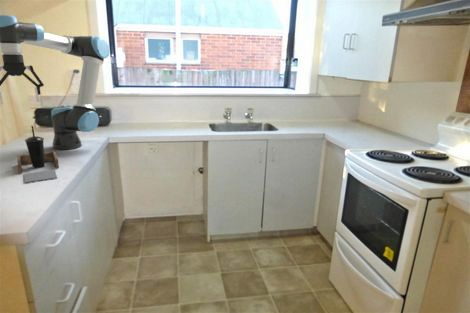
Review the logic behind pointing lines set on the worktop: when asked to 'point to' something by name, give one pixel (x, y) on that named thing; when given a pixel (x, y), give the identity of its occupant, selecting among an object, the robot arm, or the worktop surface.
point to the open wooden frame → (26, 160)
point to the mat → (39, 176)
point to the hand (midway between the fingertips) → (20, 103)
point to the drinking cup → (36, 150)
